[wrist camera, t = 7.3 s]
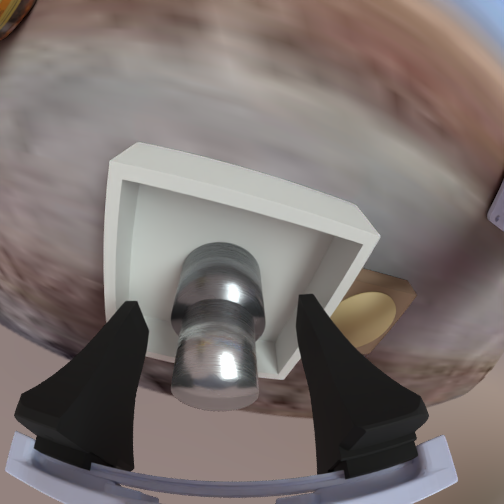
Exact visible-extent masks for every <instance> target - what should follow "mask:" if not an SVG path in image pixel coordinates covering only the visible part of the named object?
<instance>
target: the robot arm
mask: <svg viewBox="0 0 504 504" xmlns="http://www.w3.org/2000/svg"><path fill="white" fill-rule="evenodd" d="M487 218H488V220H489V221H490V222H492V223H493V224H494V225H496V226H497V227H498V228H499V229H501V230H502V231H503V232H504V180H503V182H502V184H501V187H500V189H499V191H498V193H497V195H496V197H495V199H494V201H493V203H492V205H491V207H490V209H489V211H488V214H487ZM296 333H297V341H298V347H299V351H300V355H301V359H302V363H303V367H304V371H305V375H306V379H307V383H308V387H309V392H310V397H311V405H312V412H313V421H314V430H315V441H316V442H315V443H316V457H317V475H314V476H307V477H299V478H291V479H281V480H269V481H247V482H216V481H197V480H184V479H173V478H166V477H157V476H152V475H145V474H140V473H134V472H131V471H132V470H133V469H134V457H133V420H134V407H135V397H136V392H137V387H138V383H139V379H140V375H141V371H142V367H143V363H144V359H145V355H146V351H147V345H148V337H149V329H148V326H147V324H146V322H145V319H144V317H143V314H142V312H141V309H140V307H139V304H138V302H137V301H125V302H124V303H123V304H122V305H121V306H120V308H119V309H118V310H117V311H116V312H115V314H114V315H113V316H112V317H111V318H110V320H109V321H108V322H107V323H106V324H105V325H104V327H103V328H102V329H101V330H100V331H99V332H98V334H97V335H96V336H95V337H94V338H93V339H92V340H91V341H90V342H89V343H88V344H87V346H86V347H85V348H84V349H83V350H82V351H81V352H80V353H79V354H78V355H76V356H75V357H74V358H73V359H72V360H71V361H70V362H69V363H68V364H66V365H65V366H64V367H63V368H61V369H60V370H59V371H58V372H56V373H55V374H54V375H52V376H51V377H49V378H48V379H47V380H45V381H44V382H42V383H41V384H39V385H38V386H36V387H34V388H32V389H30V390H28V391H26V392H25V393H23V394H21V397H20V400H19V403H18V405H17V408H16V411H15V414H14V416H15V418H16V419H17V421H18V422H20V423H21V424H22V425H23V426H25V427H26V428H27V429H29V430H30V431H31V432H33V433H34V434H35V435H37V437H36V440H34V439H33V438H31V437H29V436H27V435H24V434H22V433H20V432H18V431H15V434H14V437H13V441H12V444H11V448H10V452H9V456H8V460H7V464H6V468H5V471H6V472H8V473H9V474H11V475H12V476H14V477H16V478H18V479H19V480H21V481H23V482H24V483H26V484H28V485H30V486H31V487H33V488H35V489H37V490H39V491H40V492H42V493H44V494H46V495H48V496H50V497H52V498H54V499H56V500H58V501H60V502H62V503H64V504H160V503H159V499H158V498H156V497H153V496H149V495H146V494H143V493H142V492H140V491H136V490H132V489H128V488H124V487H121V485H125V486H130V487H135V488H140V489H145V490H151V491H156V492H164V493H170V494H179V495H188V496H201V497H223V498H243V497H245V498H246V497H268V496H281V495H291V494H299V493H306V492H313V491H315V492H313V493H309V494H302V495H297V496H291V497H285V498H278V499H277V500H276V503H275V504H413V503H415V502H417V501H419V500H422V499H424V498H426V497H428V496H430V495H432V494H434V493H437V492H438V491H441V490H442V489H445V488H447V487H448V486H450V485H452V484H454V483H456V482H457V481H458V478H457V474H456V470H455V467H454V464H453V460H452V457H451V454H450V451H449V447H448V444H447V441H446V438H445V436H444V435H440V436H438V437H436V438H433V439H431V440H428V441H426V442H423V443H421V444H419V445H417V446H415V443H414V441H415V440H416V439H417V437H416V434H415V431H416V430H417V429H418V428H420V427H421V426H422V425H423V424H424V423H425V422H426V421H427V419H428V417H429V414H428V412H427V409H426V406H425V404H424V402H423V400H422V398H421V396H419V395H417V394H416V393H414V392H412V391H410V390H409V389H407V388H405V387H403V386H402V385H400V384H399V383H397V382H396V381H394V380H393V379H391V378H390V377H388V376H387V375H386V374H385V373H383V372H382V371H381V370H379V369H378V368H377V367H376V366H374V365H373V364H372V363H371V362H370V361H369V360H368V359H366V358H365V357H364V356H363V355H362V354H361V353H360V352H359V351H358V350H357V349H356V348H355V347H354V346H353V345H352V344H351V343H350V341H349V340H348V339H347V338H346V337H345V336H344V335H343V333H342V332H341V331H340V330H339V329H338V327H337V326H336V325H335V324H334V322H333V321H332V320H331V318H330V317H329V316H328V314H327V313H326V312H325V310H324V309H323V307H322V306H321V304H320V303H319V301H318V300H317V298H316V297H315V295H314V294H300V295H299V297H298V307H297V317H296ZM120 484H121V485H120Z"/></svg>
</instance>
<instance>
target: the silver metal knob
mask: <svg viewBox="0 0 504 504" xmlns="http://www.w3.org/2000/svg"><path fill="white" fill-rule="evenodd" d="M171 324H172V327H173V329H174V331H175V333H176V334H177V335H178V336H179V339H178V345H177V351H176V357H175V363H174V370H173V377H172V383H171V392H172V394H173V395H174V396H175V398H177V399H178V400H179V401H181V402H182V403H184V404H186V405H188V406H191V407H194V408H197V409H202V410H208V411H232V410H237V409H241V408H244V407H247V406H249V405H251V404H252V403H254V402H255V401H256V400H257V398H258V396H259V386H258V372H257V357H256V341H257V340H258V339H259V338H260V337H261V335H262V334H263V332H264V329H265V325H266V320H265V311H264V301H263V292H262V283H261V274H260V268H259V265H258V262H257V261H256V259H255V258H254V257H253V255H252V254H251V253H250V252H248V251H247V250H246V249H244V248H242V247H240V246H238V245H235V244H232V243H226V242H213V243H208V244H204V245H202V246H200V247H198V248H196V249H194V250H193V251H192V252H191V253H190V254H189V255H188V256H187V257H186V259H185V261H184V263H183V267H182V271H181V275H180V279H179V283H178V287H177V291H176V295H175V300H174V304H173V309H172V313H171Z"/></svg>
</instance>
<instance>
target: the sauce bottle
mask: <svg viewBox="0 0 504 504" xmlns="http://www.w3.org/2000/svg"><path fill="white" fill-rule="evenodd" d="M35 1H36V0H0V41H1V40H2V39H4V38H6V37H7V36H8V34H10V33H11V32H12V31H13V30H14V29H15V28H16V27H17V25H18V24H19V23H20V22H21V21H22V19H23V17H24V16H25V15H26V14H28V12H29V10H30V9H31V8H32V7H33V5H34V3H35Z"/></svg>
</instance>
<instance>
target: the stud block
mask: <svg viewBox="0 0 504 504" xmlns="http://www.w3.org/2000/svg"><path fill="white" fill-rule="evenodd" d="M416 296H417V294H416V293H415V291H414V290H413V288H412V287H411V285H410V284H409V282H408V281H407V280H404V279H400V278H396V277H393V276H389V275H386V274H382V273H378V272H375V271H371V270H367V269H364V268H362V269H361V271H360V272H359V274H358V275H357V277H356V279H355V280H354V282H353V283H352V285H351V287H350V288H349V290H348V291H347V293H346V294H345V296H344V297H343V299H342V300H341V302H340V303H339V305H338V306H337V308H336V309H335V311H334V312H333V314H332V315H331V317H330V318H331V320H332V321H333V322H334V324H335V325H336V326H337V327H338V329H339V330H340V331H341V332H342V333H343V335H344V336H345V337H346V338H347V339H348V340H349V341H350V343H351V344H352V345H353V346H354V347H355V348H356V349H357V350H358V351H359V352H360V353H361V354H369V353H370V352H371V351H372V350H373V349H374V348H375V347H376V345H377V344H378V343H379V342H380V341H381V340H382V339H383V337H384V336H385V335H386V334H387V333H388V332H389V330H390V329H391V328H392V327H393V326H394V324H395V323H396V322H397V321H398V319H399V318H400V317H401V316H402V314H403V313H404V312H405V311H406V309H407V308H408V307H409V305H410V304H411V303H412V301H413V300H414V299H415V297H416Z"/></svg>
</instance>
